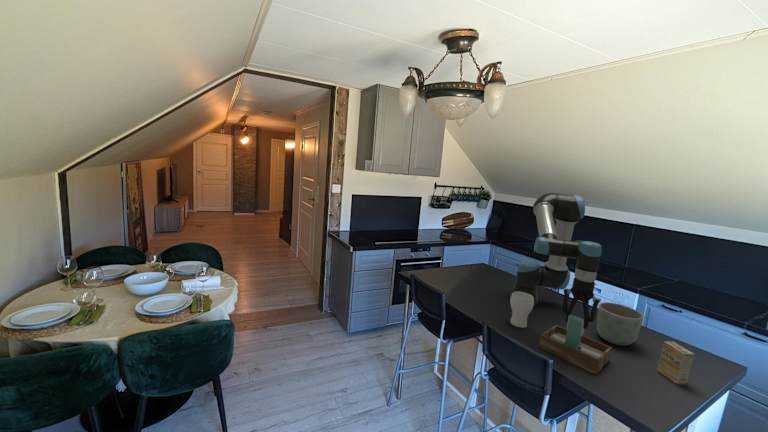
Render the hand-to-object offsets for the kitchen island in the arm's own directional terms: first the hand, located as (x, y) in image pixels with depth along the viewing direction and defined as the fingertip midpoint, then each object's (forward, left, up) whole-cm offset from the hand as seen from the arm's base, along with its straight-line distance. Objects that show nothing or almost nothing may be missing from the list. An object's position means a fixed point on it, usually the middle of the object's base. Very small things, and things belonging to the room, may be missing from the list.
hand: (574, 332), depth 137 cm
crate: (0, +1, -10) cm, 10 cm away
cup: (-5, -26, -10) cm, 28 cm away
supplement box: (-17, +30, -10) cm, 36 cm away
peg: (0, 0, -6) cm, 6 cm away
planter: (-30, +8, -10) cm, 33 cm away
